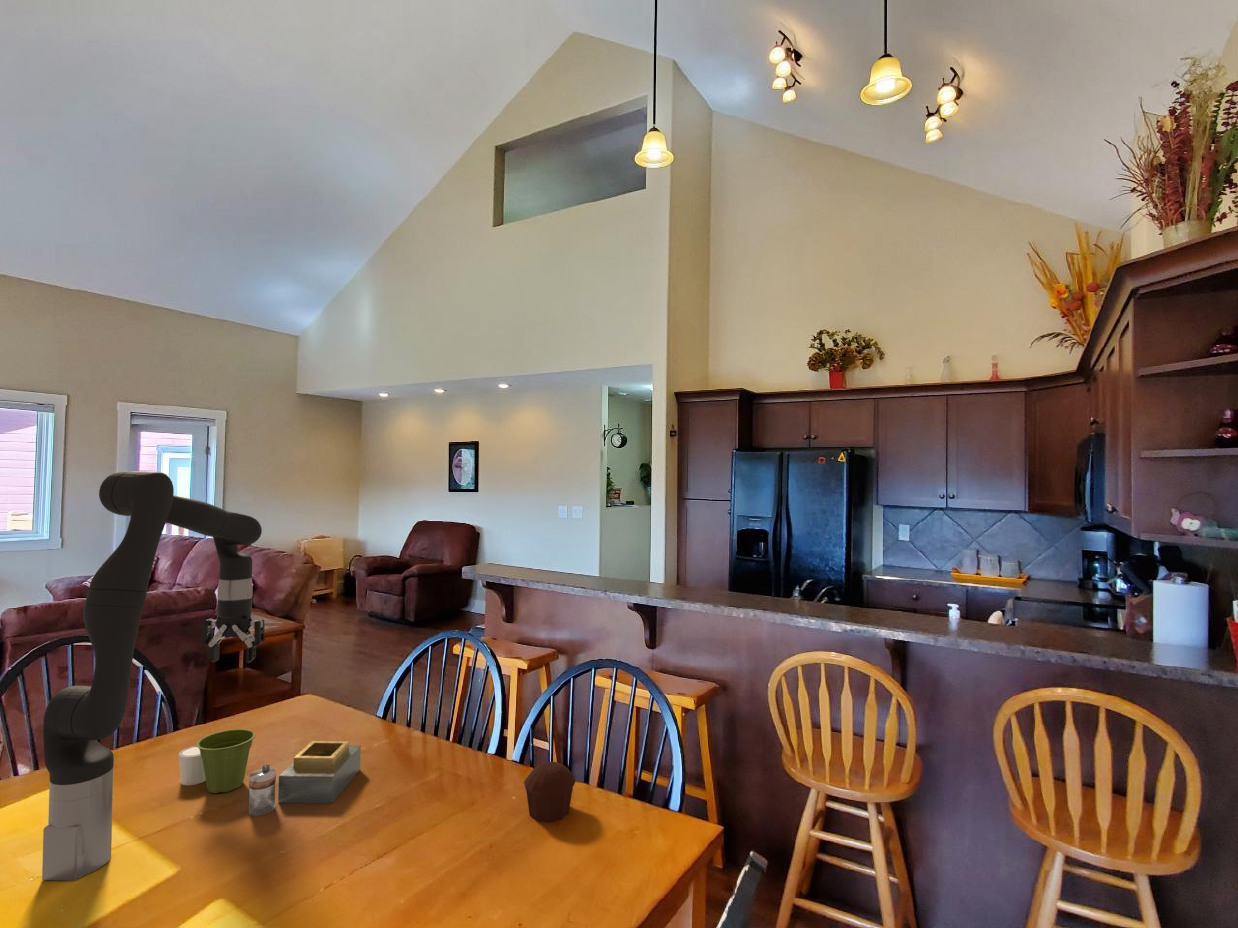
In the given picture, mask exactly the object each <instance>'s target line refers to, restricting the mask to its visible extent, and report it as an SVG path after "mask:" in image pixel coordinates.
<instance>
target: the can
mask: <svg viewBox="0 0 1238 928" xmlns="http://www.w3.org/2000/svg"><path fill="white" fill-rule="evenodd" d="M276 771H277V770H276V769H275V768H272V767H271V766H270V764H264V765H262V768H261V769H256V770H254V771H252V772H250V773H249V781H248V788H249V789H248V815H250V816H252V817H261V816H264V815H268V814H271V812H273V811H274V810H275V808H276V807H275V806H276V781H277V779H276V777H277V776H276V775H277V773H276Z"/></svg>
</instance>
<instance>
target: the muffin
mask: <svg viewBox="0 0 1238 928" xmlns="http://www.w3.org/2000/svg"><path fill="white" fill-rule="evenodd" d="M523 783H524V788H525V790H526V791H525V792H526V798H527V804H528V805H527V806H528V814H529V817H531V818H533V819H534V820H535V821H536V822H545V823H552V822H557V821H562V820H563V819H564V817H566V816H568V815H569V813H570V808H571V807H570V806H571V801H572V795H573V790H574V786H575V785H576V784H575V783H576V779H575V777H574V775H573V773H572V772H571V771H570V769H569V768H568V767H566V766H565V765H564V764H562V763H560V762H556V761H546V762H543V763H541V764H539V765H537V766H535V767H534V768H533V769H532V770H531V771H530V772H529V774H528V775H527V777H526V778H525V779H524V781H523Z"/></svg>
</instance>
